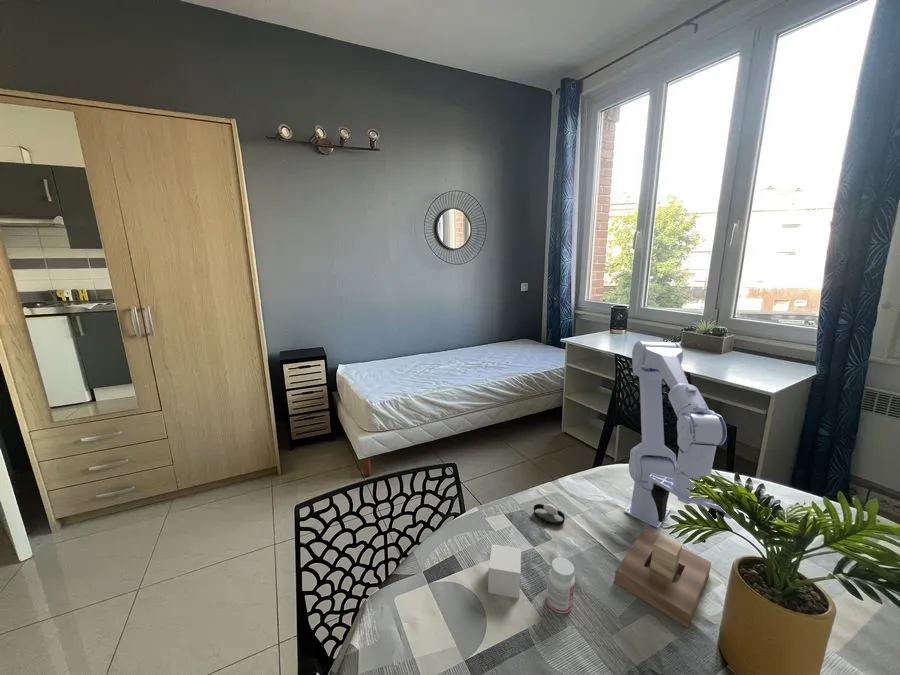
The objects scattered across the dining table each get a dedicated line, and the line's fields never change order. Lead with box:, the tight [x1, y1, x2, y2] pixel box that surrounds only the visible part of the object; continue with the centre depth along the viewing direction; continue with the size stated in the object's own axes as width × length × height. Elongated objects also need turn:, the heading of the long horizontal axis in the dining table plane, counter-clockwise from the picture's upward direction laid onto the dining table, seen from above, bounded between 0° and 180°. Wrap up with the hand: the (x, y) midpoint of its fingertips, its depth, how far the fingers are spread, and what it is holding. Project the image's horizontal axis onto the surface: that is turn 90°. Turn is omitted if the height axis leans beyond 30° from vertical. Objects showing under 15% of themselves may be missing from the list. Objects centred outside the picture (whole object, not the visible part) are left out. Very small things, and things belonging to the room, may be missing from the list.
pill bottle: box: [545, 557, 576, 614], centre depth 70 cm, size 5×5×8 cm
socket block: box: [613, 528, 712, 629], centre depth 76 cm, size 16×13×3 cm
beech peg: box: [650, 533, 683, 582], centre depth 75 cm, size 4×4×8 cm
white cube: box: [487, 543, 522, 599], centre depth 74 cm, size 6×6×6 cm
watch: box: [533, 503, 566, 527], centre depth 92 cm, size 8×5×4 cm, turn 58°
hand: (681, 529), depth 76 cm, fingers open, 7 cm apart
